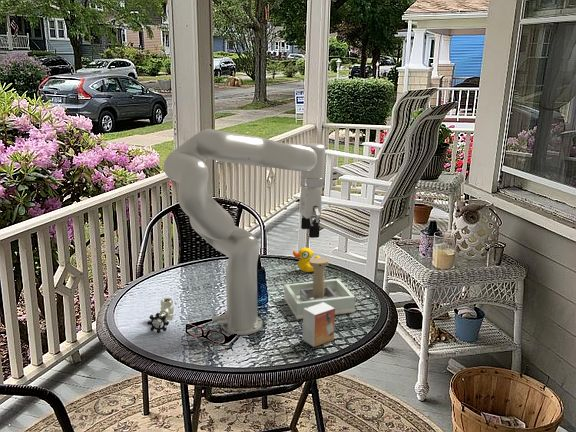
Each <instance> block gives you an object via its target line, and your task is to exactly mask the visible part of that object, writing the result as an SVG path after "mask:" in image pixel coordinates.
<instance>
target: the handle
mask: <svg viewBox="0 0 576 432" xmlns="http://www.w3.org/2000/svg"><path fill="white" fill-rule="evenodd" d="M329 262H330V261H329V259H328V258H326V257H325V258H324V257H320V258H315V257H314V258H311V259H310V260H309V264H310V265H311V266H312V267H314V271H313V276H312V277H313V279H312V282H313V296H314V299H317V298H323V297H324V289H325V285H324V280H325V267H327V266H329Z"/></svg>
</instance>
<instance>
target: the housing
mask: <svg viewBox="0 0 576 432" xmlns="http://www.w3.org/2000/svg"><path fill="white" fill-rule="evenodd" d="M324 285H325V289H324V297H323V298H317V299H314V296H313V281H305V282H295V283H287V284H284V285H283V286H284V294H283V295H284V297H283V298H284V300H285V302H286V304H287V305H288V307H289V309H290V310H291V312H292V314H293V315H294V317H295V318H296V320H301V319H302V320H303V309H304V308H308V307H311V306H314V305H317V304H320V303H322V302H324V303H326V304H328V305H330V306H332V307H333V308H335V316H336V315H342V314H350V313H355V310H356V309H355V308H356V296H355V295H354V294H353V292H351V291H350V290H349V289H348V288H347V286H345V285H344V283H343V282H342V281H341V280H340V279H339V278H334V279H324Z"/></svg>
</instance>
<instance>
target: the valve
mask: <svg viewBox="0 0 576 432" xmlns="http://www.w3.org/2000/svg"><path fill="white" fill-rule="evenodd" d="M160 306H161V307H160V311H159V312H157V313H155V316H154V314H150V316H149V317H148V318H149V319H150V320H148V321H147V322H146V324H147V325H148V326H151V327H150V331H151V332H153V331H154V330H155V331H156V333H157V334H160V333H161V331H163V332H166V331H167V330H168V327H167V326H169V324H170V321H173V320H174V311H175V307H174V303H173V298H171V297H164V298H162V299H161V300H160ZM167 320H169V321H167ZM154 321H155V322H154ZM154 323H155V324H154Z"/></svg>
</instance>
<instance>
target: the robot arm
mask: <svg viewBox="0 0 576 432" xmlns="http://www.w3.org/2000/svg"><path fill="white" fill-rule="evenodd" d="M207 160H213V161H217V162H221V163H228V164H229V163H230V164H240V165H247V166H254V167H260V168H272V169H273V168H274V169H280V170H284V171H285V170H287V171H295V172H300V183H299V184H300V185H299V187H300V198H299V210H298V211H299V213H300V215H301V223H300V225H301V226H300V228H301V230H308V231H309V232H308V237H309V238H310V239H311V238H319V237H320V227H321V226H320V225H321V220H320V219H321V215H322V189H324V187H325V186H324V185H325V184H324V183H325V165H326V146H325V145H324V144H321V143H317V142H313V143H312V142H310V143H309V142H308V143H302V144H299V143H285V142H280V141H277V140H273V139H269V138H265V137H262V136H261V137H260V136H255V135H248V134H241V133H236V132H229V131H224V130H218V129H213V128H206V129H202V130H200V131H198V132H196V134H194V135H193V136H191V137H190V138H189V139H187V140H186V141H184V142H183V143H182V144H181V145H179V146H178V147H177V148H175V149H174V150H173V151H172V152H170V153H169V154H168V155H167V157H166V158H165V160H164V162H163V171H164V173H165V175H166V177H167V178H168V179H170V180H171V181H173V182H175V183H178V189H177V190H178V191H177V193H178V194H177V196H178V197H177V198H178V199H177V200H178V204H179V206H180V208H181V210H182V212H183V213H185V215H186V216H188V217H189V223H190V226H191V228H192V229H193V230H194V231H195V232H196V233H197V234H198V235H199V236H200V237H201V238H203V239H204V240H205V241H206V243H208V244H209V245H210V246H212V247H213V248H214V249H215V250H216V251H217V252H219V253H221V254H223V255H225V256H226V257H227V258H228V264H227V265H226V269H225V289H226V290H225V291H226V292H225V293H226V294H225V295H226V296H225V297H226V310H225V311H224V314H221V315H214V316H213V315H212V316H211V321H212V323H216V325H218V326H219V325H222V329H223V330H224V332H226V333H228V334H231V335H234V334H237V335H236V336H247V335H252V334H255V333H257V332H258V331H260V330H261V329H262V328H263V320H262V318H260V317H259V316H258V261H259V255H260V242H259V240H258V239H257V237H256V236H255V234H253V233H252V232H250V231H248V230H246V229H244V228H242V227H239V226H237V225H235V221H234V218H233V217H232V215H231V214H230V213H229V212H228V211H227V210H226V209H225V208H223V206H221V205H220V204H219V203H218V202H217V201H216V200H215V199H214V198H213V197H212V195H211V194H210V193H209V191H208V181H209V176H210V175H209V167H208V166H207V164H206V161H207Z"/></svg>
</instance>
